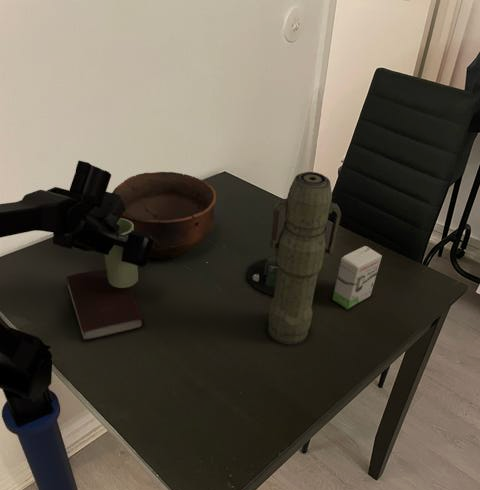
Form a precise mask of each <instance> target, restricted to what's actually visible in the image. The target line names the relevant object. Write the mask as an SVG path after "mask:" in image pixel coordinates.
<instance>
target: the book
mask: <svg viewBox="0 0 480 490" xmlns="http://www.w3.org/2000/svg"><path fill="white" fill-rule="evenodd" d="M66 280H67V290H68V292H69V295H70V299H71V302H72V305H73V310H74V312H75V316H76V319H77V322H78V323H77V324H78V326H79V329H80V333H81V335H82V336H81V337H82V340H83V341H84V342H85V341H91V340H96V339H100V338H104V337H109V336H113V335H115V334H122V333H125V332H129V331H134V330H137V329H140V328H142V327H143V326H144V318H143V315H142V313H141V311H140V309H139V306H138V304H137V301H136V300H135V298H134V295H133V293H132V291H131V288H130V287H126V288H118V287H114V286H112V285H111V284H110V283H109V282H108V277H107V270H106V268H104V269H98V270H97V269H96V270H91V271H90V270H89V271H84V272H79V273H75V274H70V275H66Z"/></svg>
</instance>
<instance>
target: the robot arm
mask: <svg viewBox="0 0 480 490" xmlns="http://www.w3.org/2000/svg"><path fill="white" fill-rule="evenodd" d="M111 178H112V174H111V173H110V171H108V170H105V169H102V168H100V167H98V166H95V165H92V164H91V163H89V162H87V161H83V160H81V159H80V160H78V161H77V164H76V167H75V171H74V175H73V178H72V181H71V184H70V187H69V189H66V188H62V187H57V186H54V187H52V188H49V189H47V190H44V189H38V190H35V191H32V192H30V193H27V194H25V195H24V196H23V197H22V199H20V200H18V201H13V202H5V203H0V239H1V238H5V237H6V238H7V237H10V236H15V235H20V234H25V233H30V232H35V231H36V232H38V231H39V232H46V233H52V244H53V245H55V246H59V247H62V248H65V249H68V250H71V249H72V248H73V249H79V250H82V251H85V252H90V251H92V252H95V253H99V254H101V255H104V254H106V255H108V254H109V251H110V250H112V248H113V246H114V245H116V246H120V247H122V250H123V253H122V260H121V261H122V262H126V263H129V264H132V265H135V266H137V267H139V268H144V267H145V266H146V265H147V263H148V259H149V257H148V256H149V253H150V250H151V247H152V244H153V241H154V240H153V238H152V237H151V236H150V235H148V234H145V233H142V232H138V231H134V230H132V231H131V232H130V233H127V234H126V235H122V234H118V233H116V232H118V231H119V228H120V226H119V225H118V224H117V222H118V221H119V219H120V217H121V216H122V214H123V212H124V211H125V210H126V206H125V204H124V202H123V200H122V198H121V196H120V195H118V194H114V193H112V192H110V191H108V187H109V184H110V181H111ZM116 238H117V239H119V240H117V239H116ZM121 240H124V241H121ZM126 240H127V241H126ZM50 349H51V346H50V345H48V344H45V343H44V342H43V340H42V339H41V338H40V337H39V336H36V335H33V334H30V333H29V332H28V333H27V332H25V331H22V330H19V329H16V328H13V327H11V326H9V327H6V326H5V325H3V324H2V323H1V322H0V389H1V390H2V392H3V394H4V397H5V400H6V401H7V405H8V407H9V410H10V412H11V414H12V417H13V419H14V421H15V423H16V426H17V427H21V426H23V425H26V424H28V423H30V422H33V421H35V420H37V419H40V418H42V417H44V416H47V415H49V414H51V413H53V412H54V409H53V407H52V405H51V403H52V401H53V400H52V397H51V394H50V390H51V389H50V386H51V385H52V382H53V381H52V378H53V354H52V352H51V351H50ZM50 410H52V411H50Z"/></svg>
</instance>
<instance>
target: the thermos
mask: <svg viewBox="0 0 480 490" xmlns="http://www.w3.org/2000/svg"><path fill="white" fill-rule="evenodd" d="M332 199H333V193H332V184H331V181H330V179H329V178H328V177H327V176H326V175H324V174H322V173H319V172H316V171H305V172H301V173H298V174H297V175H295V177H294V179H293V181H292V183H291V184H290V188H289V191H288V193H287V197H286V198H280V199H279V200H278V201H277V202H276V204H275V205H274V206H273V211H272V224H271V225H272V226H271V234H270V243H269V247H270V249H271V251H272V252H273V253H275V255H276V254H277V257H276V261H277V265H278V269H277V276H276V284H275V292H274V296H273V298H272V299H271V302H270V305H269V311H268V318H267V319H268V324H267V331H268V334H269V336H270V337H271V338H272V339H273V340H274V341H276V342H279V343H280V344H284V345H296V344H300V343H302V342H303V341H305V340H306V339H307V338H308V334H309V330H310V328H311V324H312V319H313V309H312V305H313V300H314V297H315V295H314V294H315V291H316V290H315V289H316V287H317V285H316V284H317V281H318V276H319V272H320V271H321V269H322V267H323V263H324V261H326V258H329V257H333V253H334V250H335V248H336V243H337V238H338V232H339V228H340V225H341V224H340V223H341V220H342V219H341V218H342V212H341V209H340V207H339V205H338V204H337V203H334V202H333V201H332ZM283 208H285V214H284V218H285V220H284V222H283V228H282V230H281V231H280V233H279V236H278V227H279V218H280V212H281V210H282V209H283ZM333 212H334V217H333V222H332V226H331V232H330V237H329V241H328V247H327V235H326V231H327V227H326V225H327V224H328V219H329V216H330V214H333ZM277 236H278V241H277Z"/></svg>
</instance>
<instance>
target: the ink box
mask: <svg viewBox="0 0 480 490" xmlns="http://www.w3.org/2000/svg"><path fill="white" fill-rule="evenodd" d="M382 257H383V255H382V254H380V253H379V252H377V251H376V250H373V249H372V248H370V247H369V246H366V245H364V246H361V247H359V248H357V249H356V250H353V251H351V252H349V253H347V254H345V255H343V257H341V259H340V263H339V268H338V272H337V277H336V281H335V286H334V290H333V295H332V300H333V301H334V302H336V303H337V304H339V305H340V306H342V307H343V308H344V309H346V310H348V309H350V308H352V307H354V306H356V305H357V304H359V303H360V302H363V301H364V300H366V299H367V298H369V297H371V295H372V291H373V288H374V286H375V282H376V278H377V275H378V271H379V267H380V264H381V261H382V259H383V258H382Z"/></svg>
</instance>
